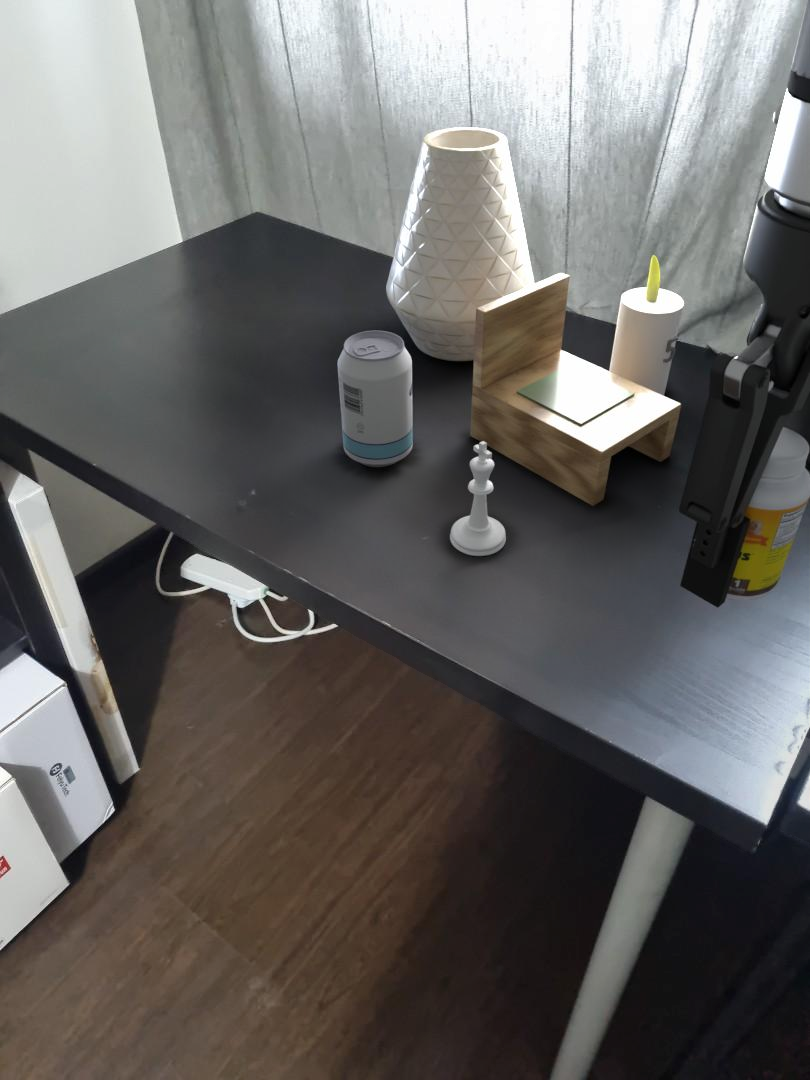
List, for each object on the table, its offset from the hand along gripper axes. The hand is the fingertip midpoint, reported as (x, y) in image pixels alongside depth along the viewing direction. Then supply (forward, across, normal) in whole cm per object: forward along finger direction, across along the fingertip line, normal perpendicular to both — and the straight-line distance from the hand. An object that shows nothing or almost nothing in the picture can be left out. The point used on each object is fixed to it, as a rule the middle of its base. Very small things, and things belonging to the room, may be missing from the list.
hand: (730, 570), depth 53 cm
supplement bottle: (+1, 0, 0) cm, 1 cm away
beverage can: (+11, -2, -38) cm, 40 cm away
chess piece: (+11, 0, -22) cm, 25 cm away
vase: (+11, -25, -50) cm, 57 cm away
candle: (+11, -31, -28) cm, 43 cm away
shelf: (+11, -17, -26) cm, 33 cm away
